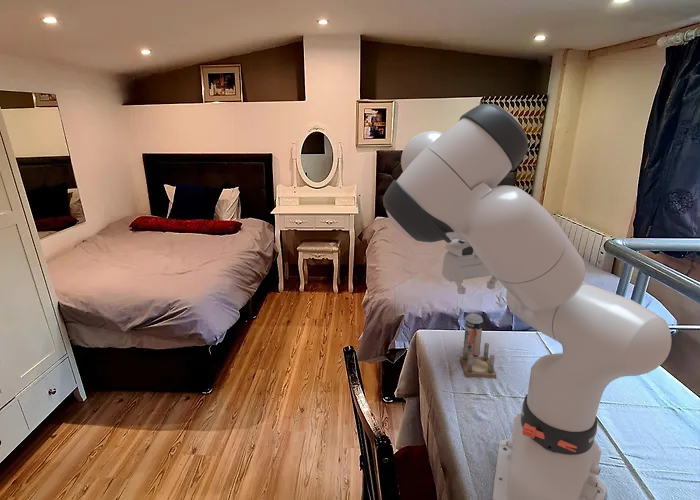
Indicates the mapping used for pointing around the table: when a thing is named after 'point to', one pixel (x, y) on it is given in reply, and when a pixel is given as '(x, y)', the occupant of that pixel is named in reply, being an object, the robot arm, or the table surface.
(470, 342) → the beer can
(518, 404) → the table surface
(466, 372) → the holder
